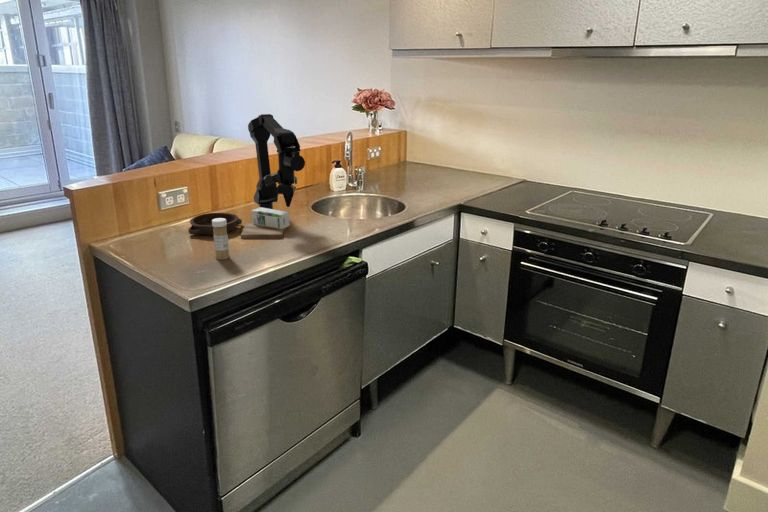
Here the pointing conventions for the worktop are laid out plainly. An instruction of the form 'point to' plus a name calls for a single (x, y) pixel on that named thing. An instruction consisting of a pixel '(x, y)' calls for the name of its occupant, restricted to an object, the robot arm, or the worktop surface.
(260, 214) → the syrup box
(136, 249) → the worktop surface
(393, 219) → the worktop surface
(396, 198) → the worktop surface
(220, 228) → the sprinkles bottle
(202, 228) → the dish
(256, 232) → the cutting board
